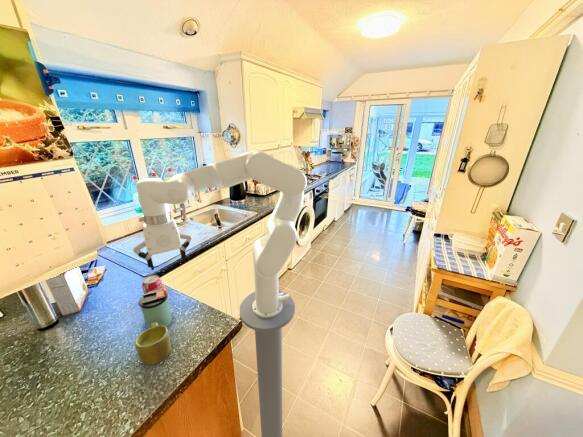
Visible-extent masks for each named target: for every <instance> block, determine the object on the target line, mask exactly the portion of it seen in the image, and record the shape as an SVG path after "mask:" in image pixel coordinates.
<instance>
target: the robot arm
mask: <svg viewBox="0 0 583 437" xmlns="http://www.w3.org/2000/svg"><path fill="white" fill-rule="evenodd" d="M251 180H254V181H256V182H258V183H259V184H261V185H264V186H266V187H267V188H271V189H273V190H276V191H278V192H280V195H279V198H278V201H277V203H276V205H275V207H274V209H273V211H272V213H271V214H270V216H269V219H267V222H266V225H265V230H266V233H267V236H260V237H259V238H257V239H256V240H255V241H254V242H253V245H252V249H251V250H252V252H251V253H252V262H253V274H254V277H253V278H254V292H255V295H256V300H255V301H254V302H253V305H252V309H253V312H254V313H255V314H256V315H257V316H259V317H263V318H270V317H274V316H276V315H277V314H279V313H280V312H281V310H282V306H283V305H282V302H283V300H287V299H289V296H290V294H288V293H287V295H284V293H283V292H284V291H283V292H282V293H280V294H279V290H280V289H279V288H280V287H279V286H280V285H279V282H280V281H279V279H280V278H279V274H280V272H281V270H282V269H283V268H284V266H285V264H286V262H287V260H288V259H289V257H290V255H291V253H292V252H293V250H294V248H295V247H296V244H297V241H298V232H297V229H296V227H295V226H294V224H295V222H296V219H297V217H298V216H299V213H300V211H301V209H302V206H303V204H304V197H305V189H306V187H307V184H308V180H307V176H306V174H305V173H304V172H303V171H302V170H300V169H299V168H298V167H297V166H295V165H292V164H291V163H285V162H283V161H281V160H279V159H277V158H275V157H273V156H271V155H270V154H268V153H267V152H265V151H263V150H261V149H254V150H250V151H246V152H244V153H241V154H238V155H235V156H231V157H229V158H225V159H222V160H219V161H216V162H212V163H209V164H207V165H203V166H199V167H196V168H193V169H190V170H187V171H184V172H181V173H177V174H176V175H174V176H173V177H171V178H170V179H169V180H165V181H164V180H163V179H161V178H156V177H155V178H151V177H150V178H144V179H141V180H139V181H137V182H136V185H135V186H136V192H137V194H138V198H139V203H140V207H141V211H142V216H141V217H138V222H139V223H142V222H143V223H142V229H143V230H142V232H143V239H144V241H142V242H140V243H139V244H137V245H136V246H135V247H133V249H132V252H133V253H135V255H137V257H139V258H141V259H144V260H145V261H146V263H147V268H150V269H151V271H154V270H155V267H154V262H153V258H152V256H155V255H159V254H163V253H168V252H171V251H175V250H178V249H179V254H180V259H181V260H182V262H186V258H187V254H186V251H187V248H188V247H189V246H190V243H191V240H192V236H191V235H189V234H184V233H180V231H179V227H178V224H177V221H176V220H175V218H173V217H172V213H171V208H170V205H182V204H185V203H187V202H188V201H189V200H190V198H191V197H192V194H194V193H197V192H199V191H202V190H205V189H209V188H221V189H222V188H223V189H224V188H225V189H227V188H231V187H233V186H237V185H239V184H241V183H245V182H248V181H251ZM182 239H183V240H185V241H184V242H183V243H182ZM144 248H146V252H143V251H141V250H142V249H144ZM283 295H284V296H283Z"/></svg>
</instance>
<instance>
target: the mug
mask: <svg viewBox="0 0 583 437" xmlns="http://www.w3.org/2000/svg"><path fill="white" fill-rule="evenodd" d="M150 327H151V328H149V329H147V328H146V329H145V330H143V331H141V333H140V334H138V336H137V337H136V338H135V340H134V346H135V350H136V352H137V354H138V357H139V359H140V360H141V362H142V364H144V365H147V366H154V365H157V364H159V363H160V362H162V361H164V360H165V359H166V358H168V356H169V355H170V354H171V352H172V344H171V340H170V334H169V333H170V332H169V330H168V327H165V326H162V325H158V323H157V322H155V323H152V324H151V326H150Z"/></svg>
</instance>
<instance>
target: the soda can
mask: <svg viewBox="0 0 583 437" xmlns="http://www.w3.org/2000/svg"><path fill="white" fill-rule="evenodd" d="M141 287H142V291H143V295H144V294H146V293H148V292H150V291H153V290H158V289H161V290H163V287H164V285H163V282H162V279H161V278H160V276H159V275H158V274H150V275H148V276H146V277H143V279H142V284H141Z"/></svg>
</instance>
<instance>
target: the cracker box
mask: <svg viewBox="0 0 583 437" xmlns="http://www.w3.org/2000/svg"><path fill="white" fill-rule="evenodd" d="M45 283H46V285H47V287H48V290H49V291H50V293H51V295H52V297H53V300H54V301H55V303H56V305H57V308H58V310H59V312H60V314H61V316H62V317H65V316H67V315H70V314H75V313H80V312H81V311H82V310H81V309H82V308H83V305H84V303H85V302H86V299H87V297H88V294H89V288H88V285H87V283H86V280H85V278H84V276H83V274H82V271H81V269H80V266H79V267H77V268H74V269H72V270H70V271H67V272H65V273H62V274H61V275H58V276H56V277H53V278H50V279H48V280H46V281H45Z"/></svg>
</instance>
